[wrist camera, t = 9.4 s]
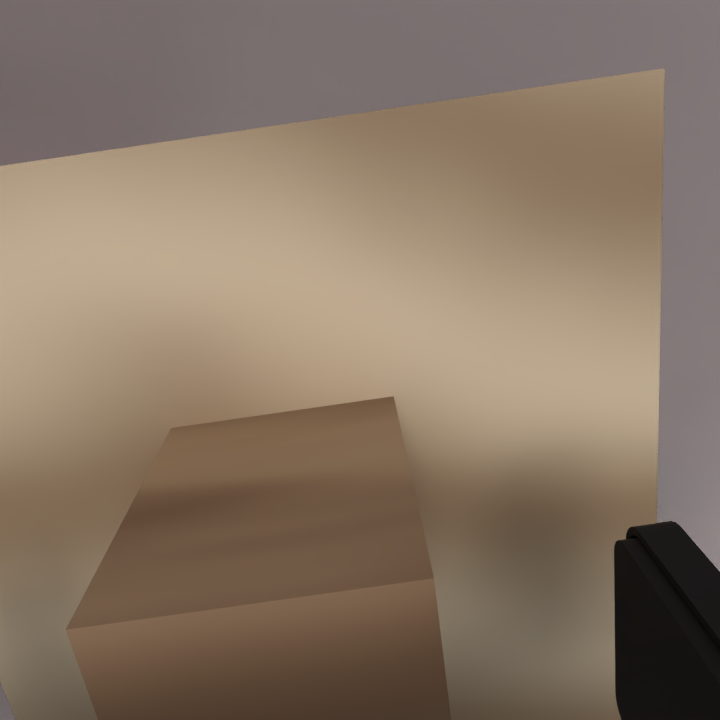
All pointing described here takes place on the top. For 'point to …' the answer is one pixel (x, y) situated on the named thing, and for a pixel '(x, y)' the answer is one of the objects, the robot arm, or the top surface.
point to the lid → (332, 412)
